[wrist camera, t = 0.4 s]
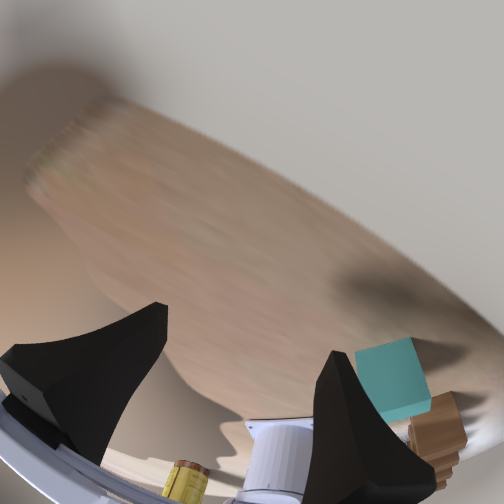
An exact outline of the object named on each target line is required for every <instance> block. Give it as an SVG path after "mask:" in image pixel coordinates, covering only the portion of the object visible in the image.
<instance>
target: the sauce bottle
mask: <svg viewBox="0 0 504 504" xmlns="http://www.w3.org/2000/svg"><path fill="white" fill-rule="evenodd" d="M208 475H209V473H208V471H207V470H206V469H205V468H204V467H202V466H200V465H199V464H197V463H194V462H189V461H186V460H180V461H177V462H176V463H175V464H174V468H172V470H171V472H170V475H169V477H168V480H167V483H166V485H165V488H164V490H163V493H162V495H161V496H164V497H166V498H169V499H172V500H174V501H177V502H180V503H183V504H201V502H202V498H203V495H204V492H205V489H206V486H207V483H208Z"/></svg>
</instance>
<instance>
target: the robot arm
mask: <svg viewBox="0 0 504 504" xmlns="http://www.w3.org/2000/svg"><path fill="white" fill-rule="evenodd" d="M167 325H168V306H167V305H164V304H161V303H158V302H154V303H152V304H150V305H148V306H146V307H144V308H142V309H141V310H139V311H137V312H135V313H133V314H131V315H129V316H127V317H125V318H123V319H121V320H119V321H117V322H114V323H112V324H110V325H108V326H105V327H103V328H101V329H98V330H96V331H93V332H90V333H87V334H83V335H80V336H77V337H72V338H68V339H64V340H59V341H54V342H46V343H36V344H15V345H14V346H12V347H11V348H10V349H9V350H8V351H7V352H6V353H5V354H4V355H2V356H1V357H0V374H1V376H2V378H3V380H4V382H5V384H6V385H7V387H8V389H9V391H10V392H11V393H10V394H9V395H8V396H6V395H5V393H4V392H3V391H2V390H1V389H0V458H1V459H2V460H3V461H4V462H5V463H6V464H7V465H8V466H10V467H11V468H12V469H13V470H14V471H15V472H16V473H17V474H18V475H20V476H21V477H22V478H23V479H24V480H26V481H27V482H28V483H29V484H30V485H32V486H33V487H34V488H35V489H37V490H38V491H39V492H41V493H42V494H43V495H45V496H46V497H47V498H49V499H50V500H51V501H53V502H55V503H56V504H127V503H124V502H122V501H120V500H117V499H115V498H113V497H110V496H108V495H107V493H106V491H105V490H107V491H109V492H111V493H113V494H115V495H117V496H119V497H121V498H123V499H125V500H127V501H129V502H132V503H134V504H183V503H180V502H177V501H174V500H172V499H169V498H166V497H164V496H161V495H158V494H156V493H153V492H151V491H149V490H146V489H144V488H142V487H139V486H137V485H135V484H132V483H130V482H128V481H126V480H124V479H122V478H120V477H118V476H116V475H114V474H112V473H110V472H108V471H106V470H105V469H103V468H101V467H100V464H101V461H102V459H103V456H104V454H105V451H106V448H107V446H108V443H109V441H110V439H111V436H112V434H113V432H114V429H115V427H116V425H117V423H118V421H119V419H120V417H121V415H122V413H123V411H124V409H125V407H126V405H127V403H128V402H129V400H130V398H131V396H132V395H133V393H134V392H135V390H136V389H137V387H138V386H139V385H140V383H141V382H142V380H143V379H144V378H145V376H146V375H147V373H148V372H149V370H150V369H151V368H152V366H153V365H154V363H155V362H156V360H157V359H158V357H159V355H160V353H161V352H162V350H163V348H164V346H165V344H166V342H167ZM245 425H246V427H247V428H248V430H249V432H250V434H251V436H252V438H253V439H254V441H255V442H254V446H253V450H252V454H251V458H250V462H249V466H248V470H247V474H246V478H245V482H244V486H243V489H242V491H237V494H236V498H229V499H228V500H226V501H225V502H223V503H222V504H418V503H419V502H421V501H423V500H424V499H426V498H428V497H429V496H430V495H431V494H433V493H434V492H435V491H436V489H437V481H436V475H435V470H434V467H432V466H431V465H430V464H428V463H427V462H425V461H424V460H423V459H421V458H420V457H419V456H418V455H416V454H415V453H414V452H413V451H412V450H411V449H410V448H409V447H407V446H406V445H405V444H404V443H403V442H402V441H401V440H400V439H399V437H398V436H397V435H396V434H395V433H394V432H393V431H392V430H391V428H390V427H389V426H388V425H387V424H386V422H385V421H384V420H383V418H382V417H381V416H380V414H379V413H378V411H377V410H376V408H375V407H374V405H373V404H372V402H371V400H370V399H369V397H368V396H367V394H366V392H365V390H364V388H363V387H362V385H361V383H360V381H359V379H358V377H357V375H356V373H355V371H354V369H353V367H352V365H351V363H350V361H349V359H348V357H347V355H346V353H344V352H339V351H334V350H332V351H331V353H330V355H329V357H328V359H327V362H326V364H325V366H324V368H323V370H322V372H321V374H320V376H319V377H318V379H317V381H316V388H315V395H314V405H313V418H301V419H284V420H248V421H246V424H245ZM97 485H98V486H97ZM99 486H100V487H101V488H100V487H99ZM102 488H103V489H105V490H103V489H102Z"/></svg>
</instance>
